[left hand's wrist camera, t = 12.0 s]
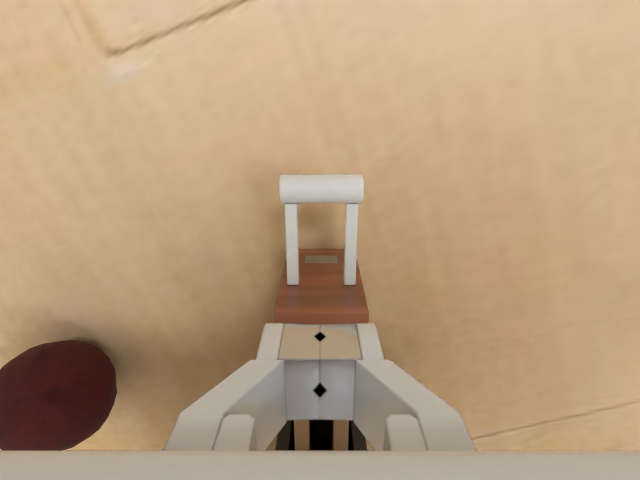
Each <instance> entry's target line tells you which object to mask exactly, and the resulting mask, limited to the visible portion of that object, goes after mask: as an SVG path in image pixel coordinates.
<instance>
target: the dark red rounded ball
mask: <svg viewBox="0 0 640 480" xmlns="http://www.w3.org/2000/svg"><path fill="white" fill-rule="evenodd" d="M116 394H117V388H116V376H115V368H114V366H113V365H112V363H111V361H110V359H109V357H108V356H107V355H106V354H104V353H103V352H102V351H101V350H100V349H99V348H97V347H95V346H93V345H90V344H88V343H86V342H80V341H73V340H69V341H60V342H53V343H46V344H42V345H39V346H36V347H33V348H30V349H28V350H27V351H25V352H23V353H22V354H20V355H19V356H17V357H15V358H14V359H13V360H11V361H10V362H8V363H7V364H6V365H4V366H3V367H2V368H1V369H0V449H2V450H4V451H62V450H66V449H69V448H72V447H74V446H76V445H77V444H79V443H80V442H82V441H84V440H85V439H87V438H88V437H90V436H91V435H93V434H94V433H95V432H96V431H98V430H99V429H100V428H101V426H102V425H103V423H104V422H105V421H106V419H107V418H108V416H109V413H110V411H111V409H112V407H113V404H114V401H115V397H116Z"/></svg>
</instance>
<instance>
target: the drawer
mask: <svg viewBox="0 0 640 480" xmlns="http://www.w3.org/2000/svg"><path fill="white" fill-rule="evenodd" d="M279 197H280V202H281V203H285V229H286V261H285V265H284V270H283V275H282V279H281V284H280V288H279V293H278V298H277V302H276V307H275V311H274V319H275V323H283V324H284V323H297V324H320V325H322V324H357V323H368V320H369V311H368V307H367V302H366V298H365V293H364V289H363V285H362V280H361V276H360V271H359V267H358V263H357V258H356V256H357V228H358V203H362V202H363V197H364V178H363V175H280V179H279ZM297 203H345V244H344V249H298V204H297ZM348 429H349V420H294V436H295V451H348Z"/></svg>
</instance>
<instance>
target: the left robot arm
mask: <svg viewBox="0 0 640 480" xmlns="http://www.w3.org/2000/svg"><path fill="white" fill-rule="evenodd" d="M286 420H354V423H355V425H356V426H357V427H358V428H359V430H360V431H361V432H362V434H363V435H364V436H365V438H366V439H367V440H368V442H369V443H370V444H371V446H372V447H373V448H374V450H375V451H265V450H266V449H267V447H268V446H269V445H270V443H271V442H272V441H273V439H274V438H275V437H276V435H277V434H278V433H279V431H280V430H281V429H282V428H283V426H284V425H285V424H286ZM0 480H640V451H477V450H476V448H475V445H474V443H473V441H472V439H471V436H470V434H469V432H468V430H467V427H466V425H465V423H464V421H463V418H462V416H461V414H460V413H459V412H458V411H457V410H455V409H454V408H453V407H451V406H450V405H449V404H447V403H446V402H445V401H444V400H442V399H441V398H440V397H438V396H437V395H436V394H434V393H433V392H432V391H430V390H429V389H428V388H426V387H425V386H424V385H422V384H421V383H420V382H418V381H417V380H416V379H415V378H413V377H412V376H411V375H409V374H408V373H407V372H405V371H404V370H403V369H401V368H400V367H399V366H397V365H396V364H395V363H393V362H392V361H391V360H384V356H383V352H382V348H381V344H380V340H379V336H378V332H377V328H376V325H375V324H374V323H357V324H322V325H320V324H297V323H284V324H283V323H266V324H265V325H264V328H263V332H262V336H261V340H260V344H259V348H258V352H257V356H256V360H249V361H248V362H247V363H245V364H244V365H243V366H241V367H240V368H239V369H237V370H236V371H235V372H233V373H232V374H231V375H229V376H228V377H227V378H225V379H224V380H223V381H221V382H220V383H219V384H217V385H216V386H215V387H213V388H212V389H211V390H209V391H208V392H207V393H206V394H204V395H203V396H202V397H200V398H199V399H198V400H196V401H195V402H194V403H192V404H191V405H190V406H188V407H187V408H186V409H184V410H183V411H182V412H180V414H179V417H178V419H177V421H176V423H175V425H174V428H173V430H172V432H171V434H170V436H169V439H168V441H167V443H166V445H165V448H164V450H163V451H0Z"/></svg>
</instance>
